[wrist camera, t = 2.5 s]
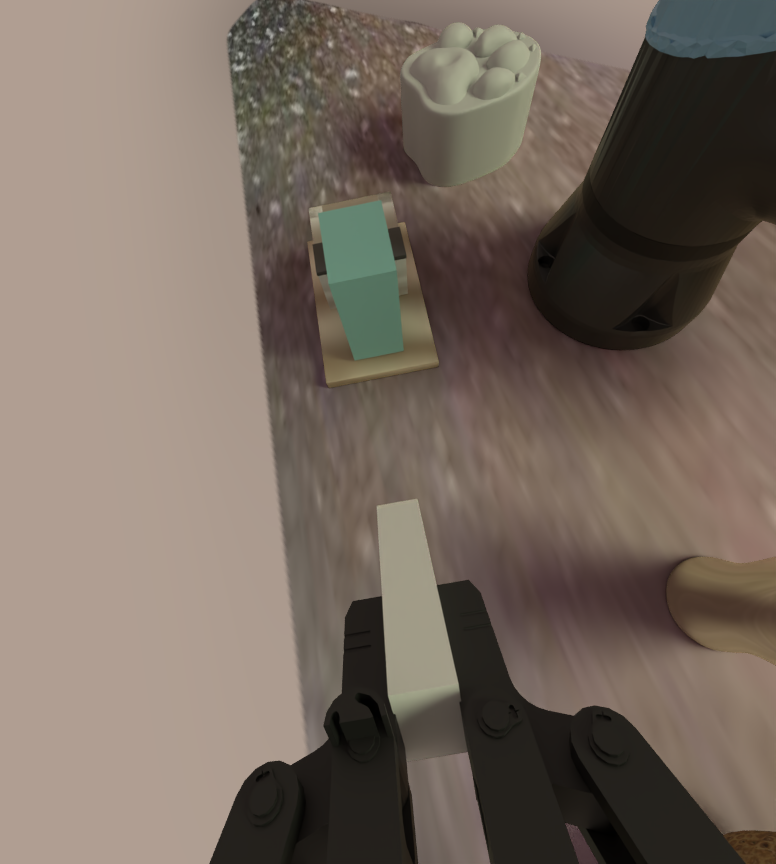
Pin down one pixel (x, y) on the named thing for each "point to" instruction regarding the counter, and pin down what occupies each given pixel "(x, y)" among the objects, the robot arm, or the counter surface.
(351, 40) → the counter surface
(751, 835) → the natural sponge
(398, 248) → the guide channel
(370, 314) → the teal block
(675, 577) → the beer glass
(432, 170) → the lumpy-topped squat cylinder
